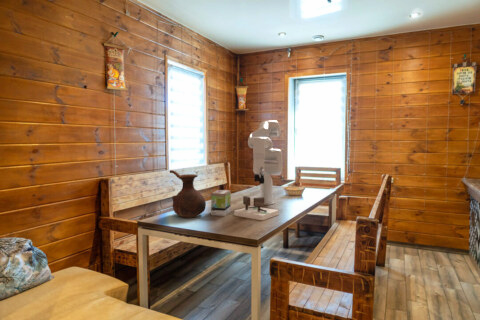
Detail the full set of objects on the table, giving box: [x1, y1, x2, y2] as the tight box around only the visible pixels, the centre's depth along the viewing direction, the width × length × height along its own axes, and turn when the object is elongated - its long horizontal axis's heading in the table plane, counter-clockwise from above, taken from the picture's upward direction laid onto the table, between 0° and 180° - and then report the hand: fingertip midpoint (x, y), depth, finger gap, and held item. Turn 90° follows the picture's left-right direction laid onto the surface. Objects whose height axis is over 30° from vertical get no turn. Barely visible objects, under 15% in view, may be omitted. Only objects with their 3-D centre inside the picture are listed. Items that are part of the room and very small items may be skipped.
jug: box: [169, 169, 207, 219], centre depth 205 cm, size 22×22×30 cm
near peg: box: [253, 196, 267, 212], centre depth 202 cm, size 9×7×8 cm
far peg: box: [242, 195, 258, 210], centre depth 210 cm, size 9×7×8 cm
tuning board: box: [233, 205, 279, 221], centre depth 207 cm, size 19×22×3 cm
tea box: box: [210, 189, 232, 217], centre depth 212 cm, size 15×10×15 cm
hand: (259, 182), depth 207 cm, fingers open, 9 cm apart
